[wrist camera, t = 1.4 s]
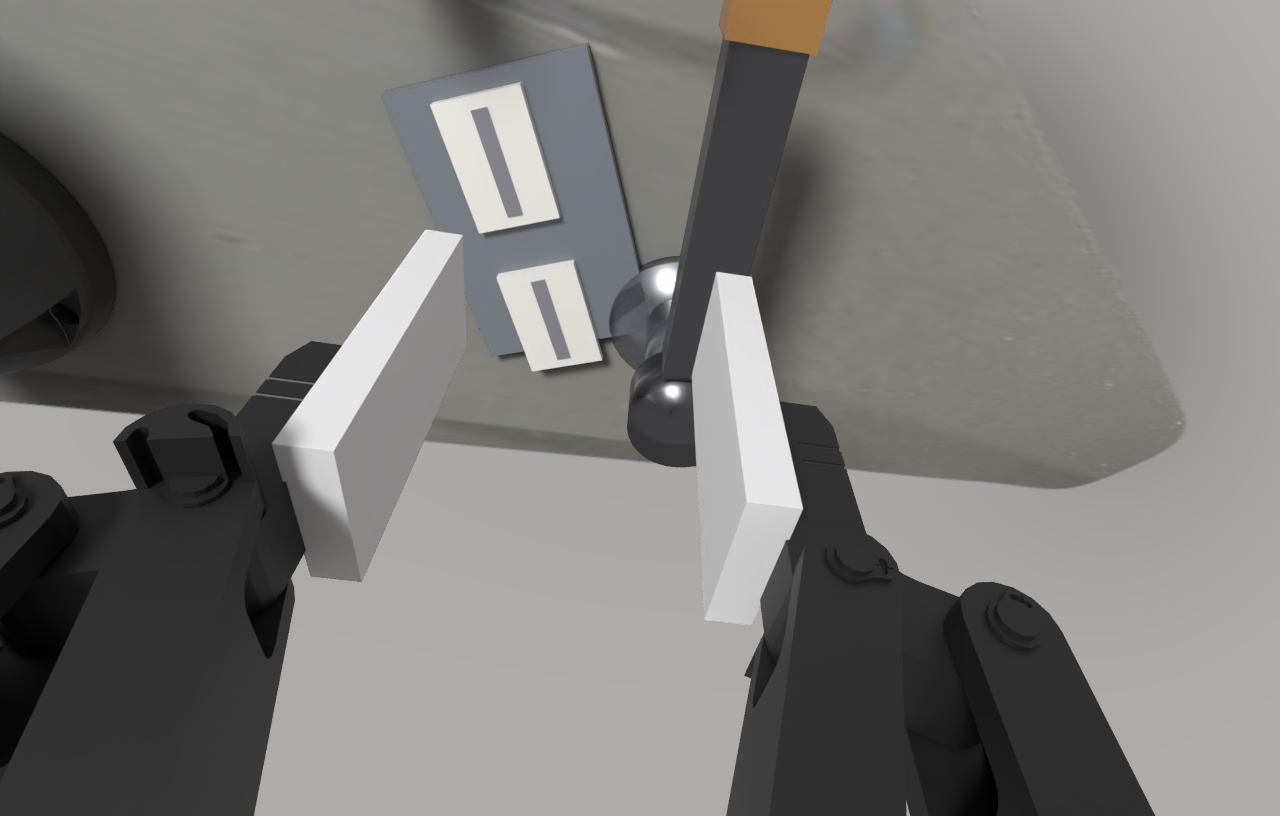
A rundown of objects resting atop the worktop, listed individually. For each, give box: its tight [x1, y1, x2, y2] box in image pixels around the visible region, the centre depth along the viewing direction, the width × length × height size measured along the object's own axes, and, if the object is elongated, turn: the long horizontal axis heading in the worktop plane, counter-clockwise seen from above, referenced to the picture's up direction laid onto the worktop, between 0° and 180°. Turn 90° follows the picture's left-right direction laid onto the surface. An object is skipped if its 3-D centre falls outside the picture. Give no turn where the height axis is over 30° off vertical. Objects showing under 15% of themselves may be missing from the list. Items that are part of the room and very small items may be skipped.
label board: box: [381, 43, 649, 371], centre depth 34 cm, size 10×16×1 cm, turn 12°
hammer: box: [627, 0, 833, 467], centre depth 27 cm, size 20×5×3 cm, turn 172°
